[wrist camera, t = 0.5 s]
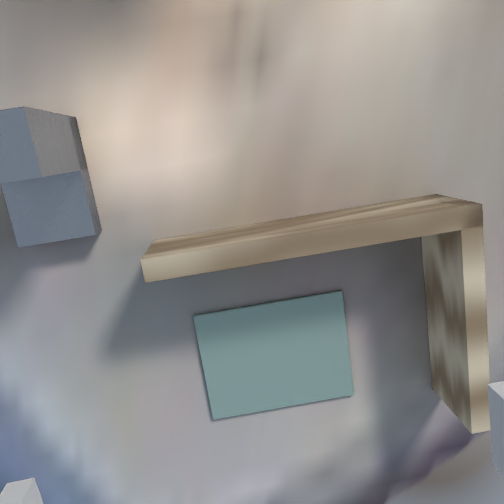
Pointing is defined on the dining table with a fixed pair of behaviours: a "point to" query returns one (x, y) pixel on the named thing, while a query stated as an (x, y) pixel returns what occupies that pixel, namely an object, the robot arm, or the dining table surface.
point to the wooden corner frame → (369, 233)
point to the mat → (275, 354)
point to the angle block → (45, 177)
